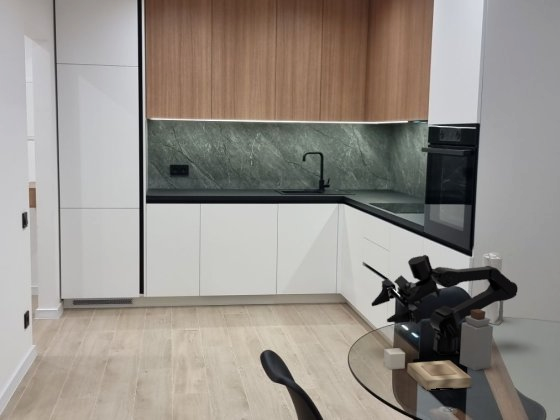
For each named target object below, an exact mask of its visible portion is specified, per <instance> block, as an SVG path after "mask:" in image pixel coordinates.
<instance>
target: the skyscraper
mask: <svg viewBox="0 0 560 420" xmlns="http://www.w3.org/2000/svg"><path fill="white" fill-rule="evenodd" d="M485 266H492V267H494V268H497V269H498V270H499V271H500V272H501V273H502V267H503V256H501V254H500V253H498V252H489V253H484V254H482V266H481V267H485ZM489 285H490V283H489V282H488V280H487V279H486V280H482V287H483V290H482V292H484V291H485V290H487V288H488V286H489ZM481 310H482V311H485V317H486V318H489V319H490V321H489V325H491V326H493V325H494V326H500V324H502V323H503V322H504V317H503V316H504V301H496V302H494V303H492V304H490V305H488V306H486V307H484V308H483V309H481Z"/></svg>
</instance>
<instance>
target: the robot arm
mask: <svg viewBox="0 0 560 420" xmlns="http://www.w3.org/2000/svg"><path fill="white" fill-rule="evenodd" d="M407 263H408V266H409V269H410V271H411V272H410V273H411V274H412V277H413V279H416V280H417V281H416V282H412V281H410V282H409V281H408V280H407V279H406V278H405V277H404V276H403V275H402V274H400V276H398V277H397V278H396V279H395V280H394V281H392V280H391V279H389V278H386V279H384V280H382V281H381V291H380V292H379V294H378V295H377V297H375V299H374V300H373V301H372V302H371V306H372V307H377V306H379V305H381V304H384V303H388V302H390V301H391V299H392V300H393V299H395V300H397V302H399V304H400V305H402V306H403V307H402V309H401V310H400V311H398V312H396V313H394V314H393V315H391V316H390V317H388V318H386V322H387V323H410V324H412V323H413V324H414V325H417V324H419V323H420V322H421V321H422V319H423V318H422V317H423V316H422V311H421V307H419V306H418V305H417V304H416V303H418V304H421V303H423V299H425V298H427V297H429V296H431V295H433V296H434V297H436V298H439V297H440V295H441V291H442V289H441V288H439V287H438V286H441V287H443V288H446V289H448V288H451V287H455V286H456V287H457V285H459V284H461V283H465V282H466V283H467V282H475V281H483V280H486V279H487V280H488V282H489V283H490V285H489V286H488V288H487V290H485V291H484V292H483V291H482V292H480V293H478V294H477V295H474V296H472V297H471V298H469V299H467V300H465V301H463V302H462V303H460V304H457V305H455V306H454V307H452V308H451V307H448V306H447V305H443V306H442V305H441V307H439V308H438V309H434V311H433V313H431V315H430V318H429V324H430V326H431V327H432V329H433V331H434V332H436V333H435V337H433V338H434V340H433V341H434V342H433V347H432V350H433V351H435V352H436V353H438V354H439V356H448V355H451V356H452V355H459V352H458V351H457V342H458V340H457V338H460V337H461V330H460V329H459V328H458V326H459V324H460V323H461V321H462V320H464V319H466V316H471V310H475V309H480V310H481V309H483V308H484V307H486V306H488V305H490V304H492V303H494V302H496V301H498V302H500V301H503V302H504V301H509V300H511V299H514V298H515V297H516V296H517V293H518V286H517V283H516V282H514V281H511V280H510V279H509V278H508V277H506V276H505V275H504V274H503V273H502V271H501V272H500V271H499V270H498V269H497V268H494V267H492V266H485V267H482V266H479V267H470V268H469V267H467V268H460V269H459V268H458V269H457V268H450V267H444V266H443V267H442V266H437V267H435V268H433V267H432V264H431V261H430V257H429V256H428V255H426V254H423V255H418V256H415V257H411V258H410V259H409V260H408V262H407ZM394 283H395V284H394ZM396 285H397V288H396ZM397 290H398V291H397Z"/></svg>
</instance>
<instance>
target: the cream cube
mask: <svg viewBox="0 0 560 420" xmlns="http://www.w3.org/2000/svg"><path fill="white" fill-rule="evenodd" d="M383 353H384V354H383V364H384V365H385V367H387V369H389V370H399V369H400V370H402V369H405V368H406V367H405V365H406V364H405V363H406V353H405V351H403V350H402V349H401V348H400V347H397V348H395V347H394V348H384V350H383Z"/></svg>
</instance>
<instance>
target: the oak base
mask: <svg viewBox="0 0 560 420" xmlns="http://www.w3.org/2000/svg"><path fill="white" fill-rule="evenodd" d="M406 371H407V374H408V375H409V376H410V377H412V379H414V380H415V382H416V383H418V384H419V386H421V387H422V386H423V387H424V388H425V389H426V390H428V391H432V390H431V389H436V388H453V389H461V388H463V389H465V388H471V383H472V380H471V379H472V377H471V375H468V374H467V373H466V372H465V371H463V370H462V369H461V368H460V367H458V366H457V365H456V364H455V363H453V362H452V361H451V360H437V361H435V360H433V361H420V362H419V361H418V362H408V363H407V369H406ZM423 387H422V388H423ZM424 388H423V389H424ZM425 389H424V390H425ZM426 390H425V391H426Z"/></svg>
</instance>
